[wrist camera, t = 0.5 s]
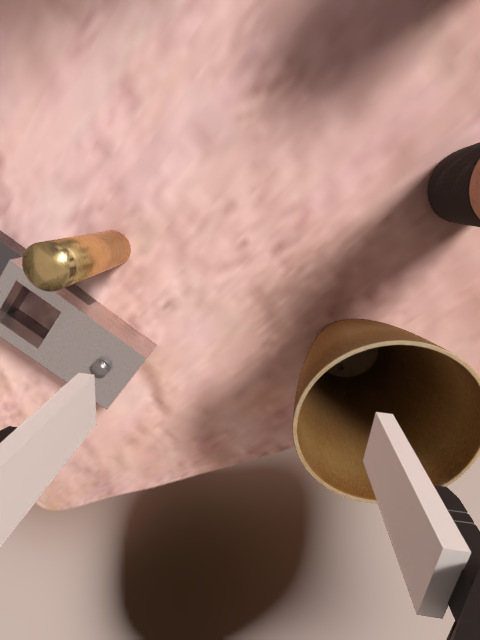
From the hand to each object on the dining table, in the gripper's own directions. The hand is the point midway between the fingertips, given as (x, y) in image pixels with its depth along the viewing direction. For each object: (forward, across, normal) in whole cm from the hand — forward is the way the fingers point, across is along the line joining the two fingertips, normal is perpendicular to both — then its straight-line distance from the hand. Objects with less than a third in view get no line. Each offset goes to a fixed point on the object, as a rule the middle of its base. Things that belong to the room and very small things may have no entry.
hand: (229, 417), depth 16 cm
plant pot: (+26, +12, -6) cm, 29 cm away
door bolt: (+26, -25, -5) cm, 37 cm away
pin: (+26, -17, +3) cm, 31 cm away
